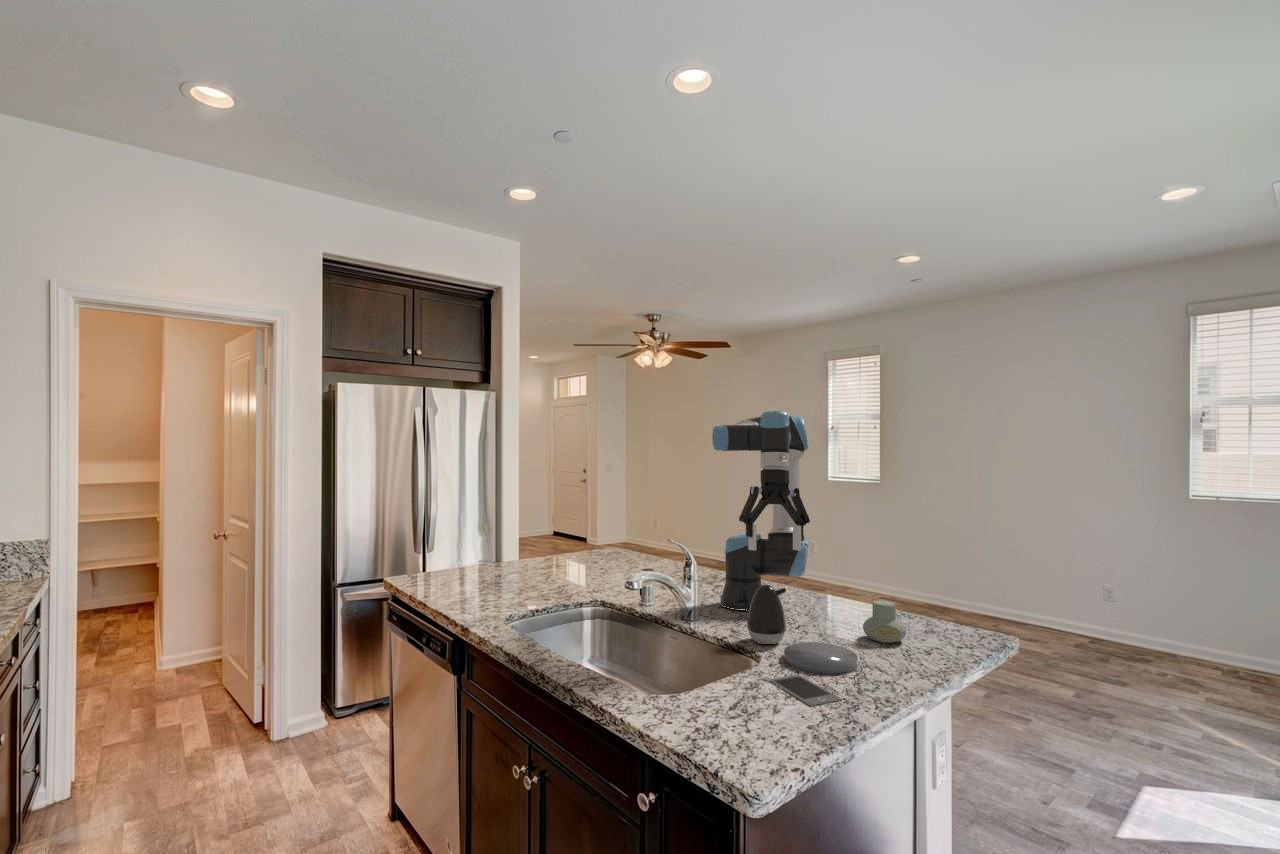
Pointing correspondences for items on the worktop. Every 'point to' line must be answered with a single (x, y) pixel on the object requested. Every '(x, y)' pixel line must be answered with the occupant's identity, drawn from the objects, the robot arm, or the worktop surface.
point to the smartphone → (805, 690)
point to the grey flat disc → (820, 658)
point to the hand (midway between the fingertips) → (775, 550)
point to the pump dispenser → (766, 616)
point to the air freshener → (884, 623)
